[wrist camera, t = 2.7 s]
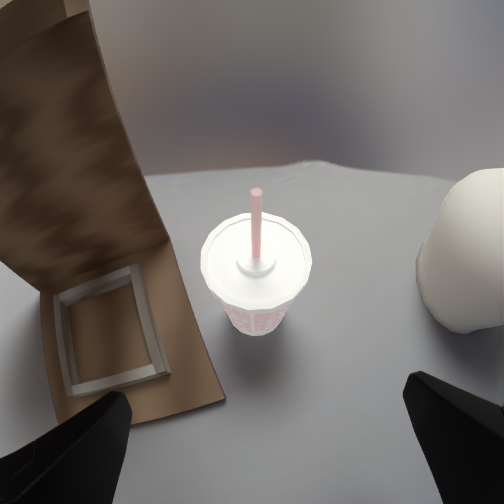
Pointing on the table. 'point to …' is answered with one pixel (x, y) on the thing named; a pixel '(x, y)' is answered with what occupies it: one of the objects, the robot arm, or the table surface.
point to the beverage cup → (256, 267)
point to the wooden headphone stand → (89, 225)
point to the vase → (466, 255)
